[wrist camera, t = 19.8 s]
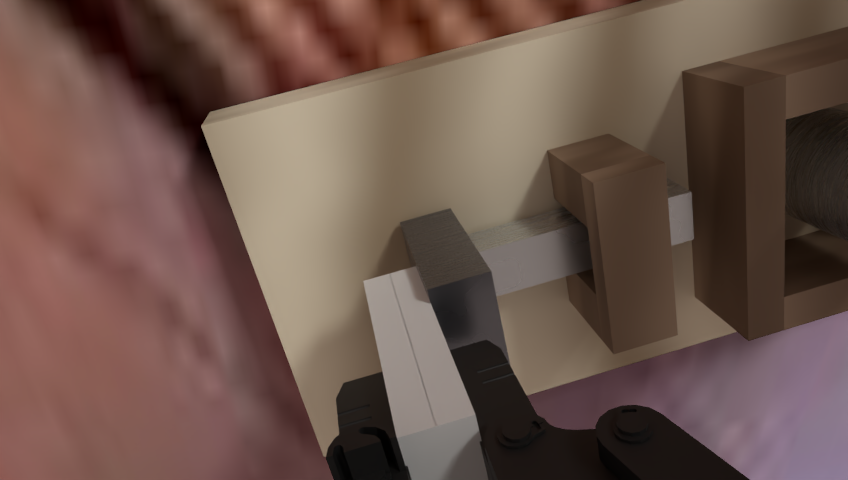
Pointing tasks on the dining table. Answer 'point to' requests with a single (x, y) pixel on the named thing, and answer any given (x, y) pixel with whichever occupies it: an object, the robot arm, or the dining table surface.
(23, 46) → the dining table surface
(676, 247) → the dock
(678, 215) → the lock pin
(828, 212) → the silver cylinder
